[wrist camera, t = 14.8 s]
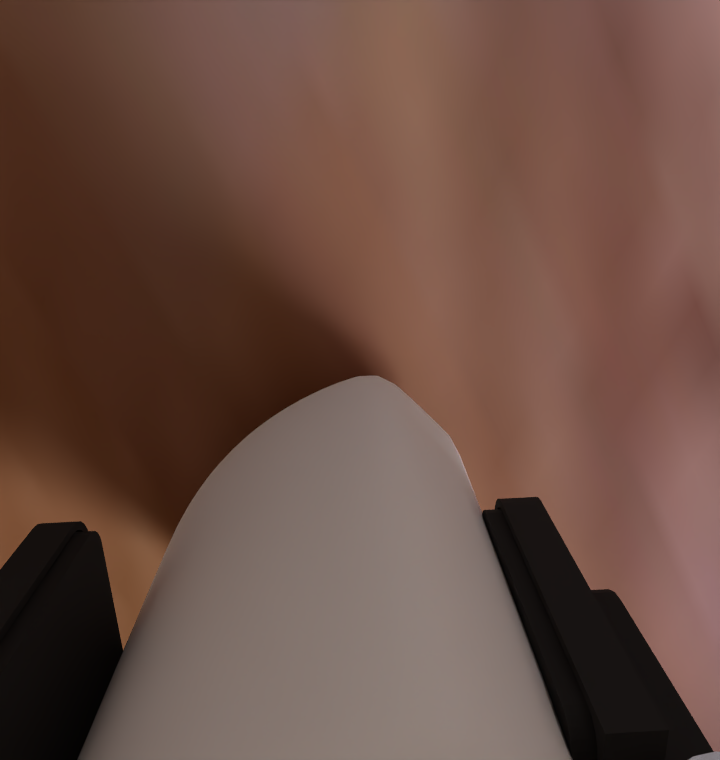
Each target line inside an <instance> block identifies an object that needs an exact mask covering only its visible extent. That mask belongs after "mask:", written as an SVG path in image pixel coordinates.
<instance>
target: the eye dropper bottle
mask: <svg viewBox="0 0 720 760" xmlns="http://www.w3.org/2000/svg"><path fill="white" fill-rule="evenodd" d="M77 760H573V759H572V757H571V755H570V752H569V749H568V746H567V743H566V740H565V738H564V735H563V732H562V729H561V726H560V724H559V721H558V718H557V715H556V712H555V710H554V707H553V704H552V701H551V698H550V696H549V693H548V690H547V687H546V685H545V682H544V679H543V677H542V674H541V671H540V669H539V666H538V663H537V661H536V658H535V655H534V653H533V650H532V647H531V645H530V642H529V639H528V637H527V634H526V631H525V629H524V626H523V623H522V621H521V618H520V615H519V613H518V610H517V607H516V605H515V602H514V599H513V597H512V594H511V591H510V589H509V586H508V583H507V581H506V578H505V575H504V573H503V570H502V567H501V565H500V562H499V559H498V557H497V554H496V551H495V549H494V546H493V543H492V541H491V538H490V536H489V533H488V530H487V528H486V525H485V522H484V520H483V517H482V511H481V509H480V506H479V504H478V501H477V498H476V496H475V493H474V491H473V488H472V485H471V483H470V480H469V478H468V475H467V472H466V470H465V467H464V465H463V462H462V460H461V457H460V455H459V453H458V451H457V449H456V447H455V445H454V443H453V441H452V439H451V437H450V436H449V435H448V434H447V433H446V432H445V431H444V430H443V429H442V428H441V427H440V426H439V424H438V423H437V422H435V421H434V420H433V419H432V418H431V417H430V416H429V415H428V414H427V413H426V412H425V411H424V410H423V409H422V408H421V407H420V406H419V405H418V404H416V403H415V402H414V401H413V400H412V399H411V398H410V397H409V396H408V395H407V394H406V393H405V392H403V391H402V390H401V389H400V388H399V387H398V386H397V385H395V384H393V383H391V382H389V381H387V380H385V379H383V378H381V377H379V376H357V377H354V378H351V379H348V380H344V381H341V382H338V383H336V384H333V385H331V386H329V387H326V388H324V389H321V390H319V391H317V392H315V393H313V394H311V395H309V396H307V397H305V398H303V399H301V400H299V401H298V402H296V403H294V404H292V405H290V406H289V407H287V408H285V409H284V410H282V411H281V412H279V413H277V414H276V415H274V416H273V417H271V418H270V419H269V420H267V421H266V422H264V423H263V424H262V425H260V426H259V427H258V428H256V429H255V430H254V431H253V432H251V433H250V434H249V435H248V436H247V437H245V438H244V439H243V440H242V441H241V442H240V443H239V444H238V445H237V446H236V447H234V448H233V449H232V450H231V452H230V453H229V454H228V455H227V456H226V457H225V458H224V459H223V460H222V461H221V462H220V463H219V464H218V466H217V467H216V468H215V469H214V470H213V472H212V473H211V474H210V475H209V476H208V478H207V479H206V480H205V482H204V483H203V485H202V486H201V487H200V489H199V490H198V492H197V493H196V495H195V496H194V498H193V499H192V501H191V503H190V504H189V506H188V507H187V509H186V511H185V513H184V515H183V516H182V518H181V520H180V522H179V524H178V526H177V528H176V530H175V532H174V534H173V536H172V538H171V541H170V543H169V545H168V547H167V550H166V552H165V554H164V557H163V559H162V561H161V564H160V566H159V568H158V571H157V573H156V575H155V578H154V580H153V582H152V585H151V587H150V589H149V592H148V594H147V596H146V599H145V601H144V603H143V606H142V608H141V610H140V613H139V615H138V618H137V620H136V622H135V625H134V627H133V629H132V632H131V634H130V636H129V639H128V641H127V643H126V646H125V648H124V650H123V653H122V655H121V657H120V660H119V662H118V665H117V667H116V669H115V672H114V674H113V676H112V679H111V681H110V683H109V686H108V688H107V690H106V693H105V695H104V698H103V700H102V702H101V705H100V707H99V709H98V712H97V714H96V716H95V719H94V721H93V724H92V726H91V728H90V731H89V733H88V735H87V738H86V740H85V743H84V745H83V747H82V750H81V752H80V754H79V757H78V759H77Z"/></svg>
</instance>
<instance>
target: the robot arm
mask: <svg viewBox="0 0 720 760" xmlns="http://www.w3.org/2000/svg"><path fill="white" fill-rule="evenodd" d="M482 517H483V520H484V522H485V525H486V528H487V530H488V533H489V536H490V538H491V541H492V543H493V546H494V549H495V551H496V554H497V557H498V559H499V562H500V565H501V567H502V570H503V573H504V575H505V578H506V581H507V583H508V586H509V589H510V591H511V594H512V597H513V599H514V602H515V605H516V607H517V610H518V613H519V615H520V618H521V621H522V623H523V626H524V629H525V631H526V634H527V637H528V639H529V642H530V645H531V647H532V650H533V653H534V655H535V658H536V661H537V663H538V666H539V669H540V671H541V674H542V677H543V679H544V682H545V685H546V687H547V690H548V693H549V696H550V698H551V701H552V704H553V707H554V710H555V712H556V715H557V718H558V721H559V724H560V726H561V729H562V732H563V735H564V738H565V740H566V743H567V746H568V749H569V752H570V755H571V757H572V759H573V760H720V752H714V751H713V750H712V748H711V747H710V745H709V743H708V742H707V740H706V738H705V737H704V735H703V734H702V732H701V730H700V729H699V727H698V725H697V724H696V722H695V720H694V719H693V717H692V716H691V714H690V712H689V711H688V709H687V707H686V706H685V704H684V703H683V701H682V699H681V698H680V696H679V694H678V693H677V691H676V689H675V688H674V686H673V685H672V683H671V681H670V680H669V678H668V676H667V675H666V673H665V672H664V670H663V668H662V667H661V665H660V663H659V662H658V660H657V658H656V657H655V655H654V654H653V652H652V650H651V649H650V647H649V645H648V644H647V642H646V640H645V639H644V637H643V636H642V634H641V632H640V631H639V629H638V627H637V626H636V624H635V623H634V621H633V619H632V618H631V616H630V614H629V613H628V611H627V609H626V608H625V606H624V605H623V603H622V601H621V600H620V598H619V597H618V596H617V595H616V593H615V592H613V591H611V590H609V589H604V590H590V588H589V586H588V584H587V582H586V581H585V579H584V577H583V575H582V573H581V572H580V570H579V568H578V566H577V565H576V563H575V561H574V559H573V557H572V556H571V554H570V552H569V550H568V548H567V547H566V545H565V543H564V541H563V540H562V538H561V536H560V534H559V532H558V531H557V529H556V527H555V525H554V523H553V522H552V520H551V518H550V516H549V514H548V513H547V511H546V509H545V507H544V506H543V504H542V502H541V500H540V499H539V498H538V497H527V498H508V499H497V501H496V505H495V510H484V511H483V513H482ZM122 653H123V648H122V643H121V638H120V633H119V628H118V623H117V618H116V613H115V608H114V603H113V598H112V593H111V587H110V582H109V577H108V572H107V567H106V562H105V557H104V552H103V547H102V542H101V538H100V536H99V534H98V533H97V532H96V531H88V530H87V528H86V526H85V524H84V523H82V522H81V521H80V522H61V523H42V524H37V525H36V526H35V527H34V528H33V529H32V530H31V532H30V533H29V534H28V535H27V537H26V538H25V539H24V540H23V542H22V543H21V544H20V546H19V547H18V548H17V549H16V551H15V552H14V553H13V554H12V556H11V557H10V558H9V559H8V561H7V562H6V563H5V564H4V566H3V567H2V568H1V569H0V760H77V759H78V757H79V754H80V752H81V750H82V747H83V745H84V743H85V740H86V738H87V735H88V733H89V731H90V728H91V726H92V724H93V721H94V719H95V716H96V714H97V712H98V709H99V707H100V705H101V702H102V700H103V698H104V695H105V693H106V690H107V688H108V686H109V683H110V681H111V679H112V676H113V674H114V672H115V669H116V667H117V665H118V662H119V660H120V657H121V655H122Z"/></svg>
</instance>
